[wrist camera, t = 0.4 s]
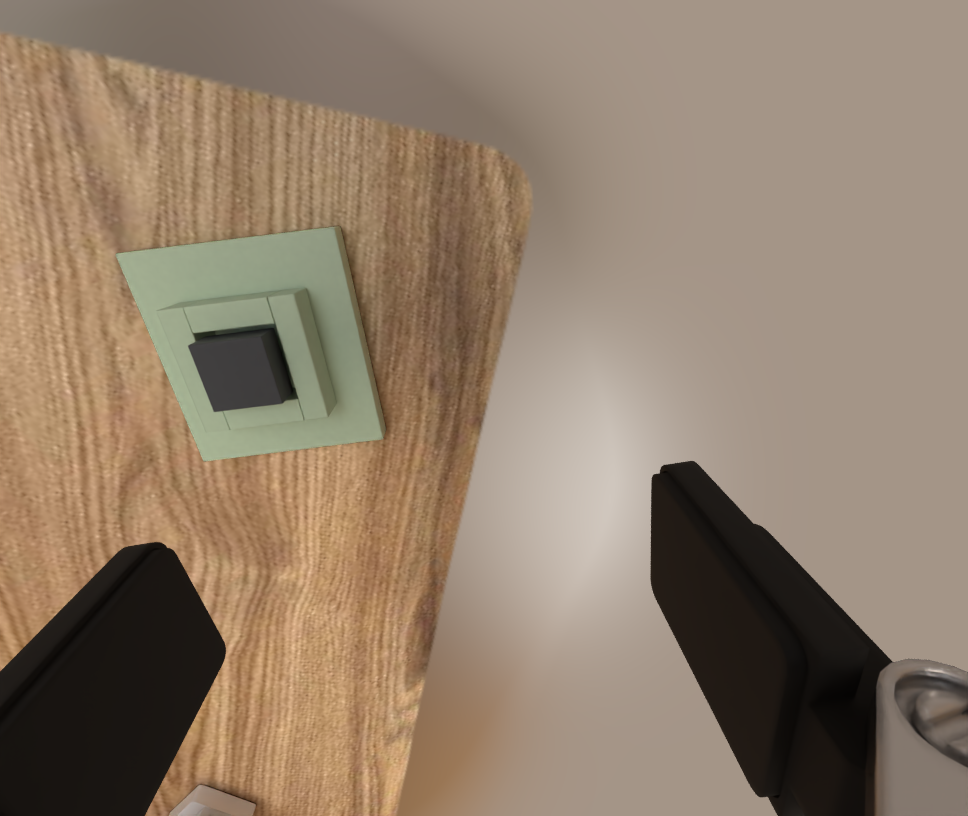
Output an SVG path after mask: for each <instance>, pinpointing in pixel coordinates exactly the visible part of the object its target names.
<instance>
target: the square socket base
mask: <svg viewBox="0 0 968 816" xmlns="http://www.w3.org/2000/svg"><path fill="white" fill-rule="evenodd" d="M116 257H117V259H118V262H119V264H120V266H121V269H122V271H123V273H124V276H125V278H126V280H127V283H128V285H129V287H130V290H131V292H132V294H133V297H134V299H135V302H136V304H137V306H138V309H139V311H140V313H141V316H142V318H143V320H144V323H145V325H146V327H147V330H148V332H149V334H150V337H151V339H152V341H153V344H154V346H155V348H156V351H157V353H158V355H159V358H160V360H161V362H162V365H163V367H164V370H165V372H166V374H167V377H168V379H169V381H170V384H171V386H172V388H173V391H174V393H175V395H176V398H177V400H178V402H179V405H180V407H181V409H182V412H183V414H184V416H185V419H186V421H187V423H188V426H189V428H190V430H191V433H192V435H193V438H194V440H195V442H196V445H197V447H198V449H199V452H200V454H201V456H202V459H203V461H212V460H220V459H228V458H236V457H245V456H253V455H261V454H269V453H277V452H285V451H293V450H301V449H309V448H317V447H325V446H333V445H341V444H349V443H357V442H365V441H373V440H381V439H383V438H384V435H385V432H386V427H385V422H384V418H383V413H382V409H381V404H380V400H379V396H378V391H377V387H376V382H375V378H374V373H373V369H372V365H371V360H370V356H369V351H368V347H367V342H366V338H365V333H364V329H363V325H362V320H361V316H360V311H359V307H358V302H357V298H356V294H355V289H354V285H353V280H352V276H351V271H350V267H349V263H348V258H347V254H346V249H345V245H344V240H343V236H342V232H341V227H340V226H333V227H325V228H317V229H309V230H300V231H292V232H284V233H276V234H268V235H260V236H252V237H244V238H235V239H227V240H219V241H211V242H203V243H195V244H187V245H178V246H170V247H162V248H154V249H146V250H138V251H130V252H123V253H116ZM268 328H274V330H275V333H276V336H277V339H278V343H279V346H280V349H281V352H282V356H283V359H284V362H285V365H286V369H287V372H288V375H289V378H290V381H291V385H292V388H293V393H292V394H291V395H290V396H289V397H288V398H287V399H286V400H285V402H284V403H283V404H276V405H268V406H260V407H252V408H244V409H236V410H228V411H220V412H214V411H213V409H212V406H211V404H210V401H209V398H208V396H207V393H206V391H205V388H204V386H203V383H202V381H201V378H200V376H199V373H198V371H197V368H196V366H195V363H194V360H193V358H192V355H191V353H190V350H189V348H188V345H190V344H192V343H194V342H196V341H198V340H200V339H201V338H203V337H205V336H212V335H220V334H228V333H236V332H244V331H252V330H260V329H268Z"/></svg>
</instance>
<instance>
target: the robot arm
mask: <svg viewBox="0 0 968 816" xmlns="http://www.w3.org/2000/svg"><path fill="white" fill-rule="evenodd" d="M651 493H652V494H651V585H652V590H653V593H654V596H655V598H656V600H657V602H658V604H659V606H660V608H661V610H662V612H663V614H664V616H665V618H666V620H667V622H668V624H669V626H670V628H671V630H672V632H673V634H674V636H675V638H676V640H677V642H678V644H679V646H680V648H681V650H682V652H683V654H684V656H685V658H686V660H687V662H688V664H689V666H690V668H691V670H692V672H693V674H694V675H695V678H696V680H697V682H698V684H699V686H700V688H701V690H702V692H703V694H704V696H705V698H706V699H707V701H708V703H709V705H710V707H711V709H712V711H713V713H714V715H715V717H716V719H717V721H718V723H719V725H720V727H721V729H722V731H723V733H724V735H725V737H726V739H727V741H728V743H729V745H730V747H731V749H732V751H733V753H734V755H735V757H736V759H737V761H738V763H739V765H740V767H741V769H742V771H743V773H744V775H745V777H746V779H747V781H748V783H749V784H750V786H751V788H752V789H753V791H754V792H755V793H756V794H757V795H758V796H759V797H768V798H769V800H770V802H771V804H772V806H773V807H774V810H775V811H776V813H777V815H778V816H968V672H966V671H964V670H961V669H959V668H957V667H954V666H950V665H947V664H942V663H939V662H935V661H931V660H919V659H905V660H901V661H897V662H892V661H891V660H890V659H889V658H888V657H887V655H886V654H884V652H883V651H882V650H881V649H880V648H879V647H878V646H877V645H876V644H875V643H874V642H873V641H872V640H871V639H870V638H869V637H868V636H867V635H866V634H865V633H864V632H863V631H862V629H860V627H859V626H858V625H857V624H856V623H855V622H854V621H853V620H852V619H851V618H850V617H849V616H848V615H847V614H846V613H845V612H844V610H843V609H842V608H841V607H840V606H839V605H838V604H837V603H836V602H835V601H834V600H833V599H832V598H831V597H830V596H829V595H828V594H827V593H826V592H825V591H824V590H823V589H822V588H821V586H819V585H818V583H817V582H816V581H815V580H814V579H813V578H812V577H811V576H810V575H809V574H808V573H807V572H806V571H805V570H804V569H803V568H802V567H801V565H800V564H798V562H797V561H796V560H795V559H794V558H793V557H792V556H791V555H790V554H789V553H788V552H787V551H786V550H785V549H784V548H783V547H782V546H781V545H780V544H779V542H778V541H777V540H776V539H775V538H774V537H773V536H772V535H771V534H770V533H769V532H768V531H767V530H765V529H764V528H763V527H762V526H759V525H757V524H753V523H752V522H751V521H750V519H748V517H747V516H746V515H745V514H744V513H743V512H742V511H741V510H740V509H739V508H738V507H737V506H736V504H735V503H734V502H733V501H732V500H731V499H730V498H729V497H728V496H727V495H726V494H725V493H724V492H723V491H722V490H721V489H720V487H719V486H717V484H716V483H715V482H714V481H713V480H712V479H711V478H710V477H709V476H708V474H706V472H705V471H704V470H703V469H702V468H701V467H700V466H699V465H698V464H697V463H696V462H694V461H688V462H681V463H675V464H668V465H663V466H662V467H661V470H660V474H654V475H653V477H652V490H651ZM225 654H226V647H225V643H224V641H223V639H222V637H221V635H220V633H219V631H218V630H217V628H216V626H215V624H214V622H213V620H212V619H211V617H210V615H209V613H208V611H207V609H206V608H205V606H204V604H203V602H202V600H201V598H200V597H199V595H198V593H197V591H196V589H195V588H194V586H193V584H192V582H191V580H190V578H189V577H188V575H187V573H186V571H185V569H184V567H183V566H182V564H181V562H180V560H179V558H178V556H177V555H176V553H175V552H174V550H172V549H170V548H167V547H166V545H164V544H162V543H159V542H154V543H147V544H140V545H134V546H128V547H125V548H123V549H121V550H120V551H119V552H118V553H117V554H116V555H115V556H114V557H113V558H112V559H111V560H110V561H109V562H108V563H107V564H106V565H105V566H104V567H103V568H102V569H101V570H100V571H99V572H98V573H97V574H96V575H95V576H94V577H93V578H92V579H91V580H90V581H89V582H88V583H87V584H86V585H85V586H84V587H83V588H82V589H81V590H80V591H79V592H78V593H77V594H76V595H75V596H74V597H73V598H72V599H71V600H70V601H69V602H68V603H67V604H66V605H65V606H64V607H63V608H62V609H61V610H60V611H59V612H58V614H57V615H56V616H55V617H54V618H53V619H52V620H51V621H50V622H49V623H48V624H47V625H46V626H45V627H44V628H43V629H42V630H41V631H40V632H39V633H38V634H37V635H36V636H35V637H34V638H33V639H32V640H31V641H30V642H29V643H28V644H27V645H26V646H25V647H24V648H23V649H22V650H21V651H20V652H19V653H18V654H17V655H16V656H15V657H14V658H13V659H12V660H11V661H10V662H9V663H8V664H7V665H6V666H5V667H4V668H3V669H2V670H1V671H0V816H145V814H146V812H147V810H148V808H149V806H150V804H151V802H152V800H153V798H154V796H155V794H156V793H157V791H158V789H159V787H160V785H161V783H162V781H163V779H164V777H165V775H166V773H167V771H168V769H169V767H170V765H171V763H172V761H173V760H174V758H175V756H176V754H177V752H178V750H179V748H180V746H181V744H182V742H183V740H184V738H185V736H186V734H187V732H188V730H189V728H190V726H191V725H192V723H193V721H194V719H195V717H196V715H197V713H198V711H199V709H200V707H201V705H202V703H203V701H204V699H205V697H206V695H207V693H208V692H209V690H210V688H211V686H212V684H213V682H214V680H215V678H216V676H217V674H218V672H219V670H220V668H221V666H222V664H223V662H224V659H225Z"/></svg>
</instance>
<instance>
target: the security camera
mask: <svg viewBox="0 0 968 816" xmlns="http://www.w3.org/2000/svg"><path fill="white" fill-rule="evenodd" d="M255 807H256V804H254V803H251V802H249V801H246V800H243V799H240V798H237V797H235V796H232V795H229V794H226V793H224V792H221V791H218V790H215V789H213V788H210V787H207V786H204V785H199V786H197V787H196V788H195V789H194V790H193V791H192V792H191V793H190V794H189V795H188V796H187V797H186V798H185V799H184V800H183V801H181V802H180V803H179V804H178V805H177V806H176V807H175V808H174V809H173V810H172V811H171V812H170V814H169V816H253V813H254V810H255Z"/></svg>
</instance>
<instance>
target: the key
mask: <svg viewBox="0 0 968 816" xmlns="http://www.w3.org/2000/svg"><path fill="white" fill-rule="evenodd" d="M188 348H189V350H190V353H191V355H192V358H193V360H194V363H195V366H196V368H197V371H198V373H199V376H200V378H201V381H202V383H203V386H204V388H205V391H206V393H207V396H208V398H209V401H210V404H211V406H212V409H213V411H214V412H220V411H228V410H236V409H244V408H252V407H260V406H268V405H276V404H283V403H284V402H285V400H286V399H287V398H288V397H289V396H290V395H291V394H292V393H293V388H292V385H291V381H290V378H289V375H288V372H287V369H286V365H285V362H284V359H283V356H282V352H281V349H280V346H279V343H278V339H277V336H276V333H275V330H274V328H268V329H260V330H252V331H244V332H236V333H228V334H220V335H212V336H205V337H203V338H201V339H200V340H198V341H196V342H194V343H192V344H190V345H188Z"/></svg>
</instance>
